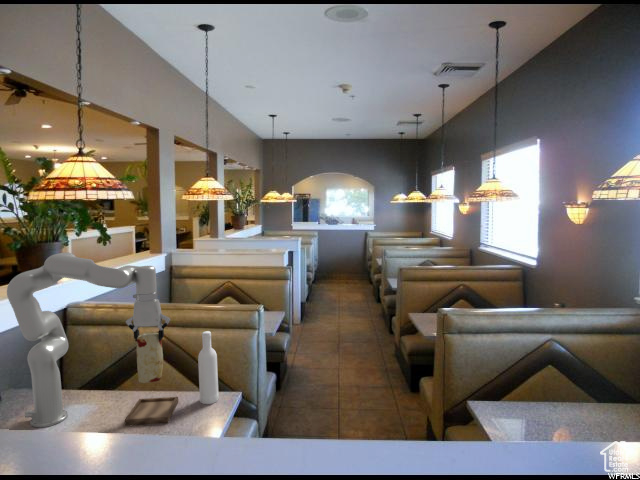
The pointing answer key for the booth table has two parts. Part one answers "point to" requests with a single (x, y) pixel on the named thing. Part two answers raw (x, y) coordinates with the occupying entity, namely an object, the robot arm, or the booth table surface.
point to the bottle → (208, 371)
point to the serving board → (152, 411)
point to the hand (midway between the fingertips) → (149, 339)
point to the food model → (149, 358)
